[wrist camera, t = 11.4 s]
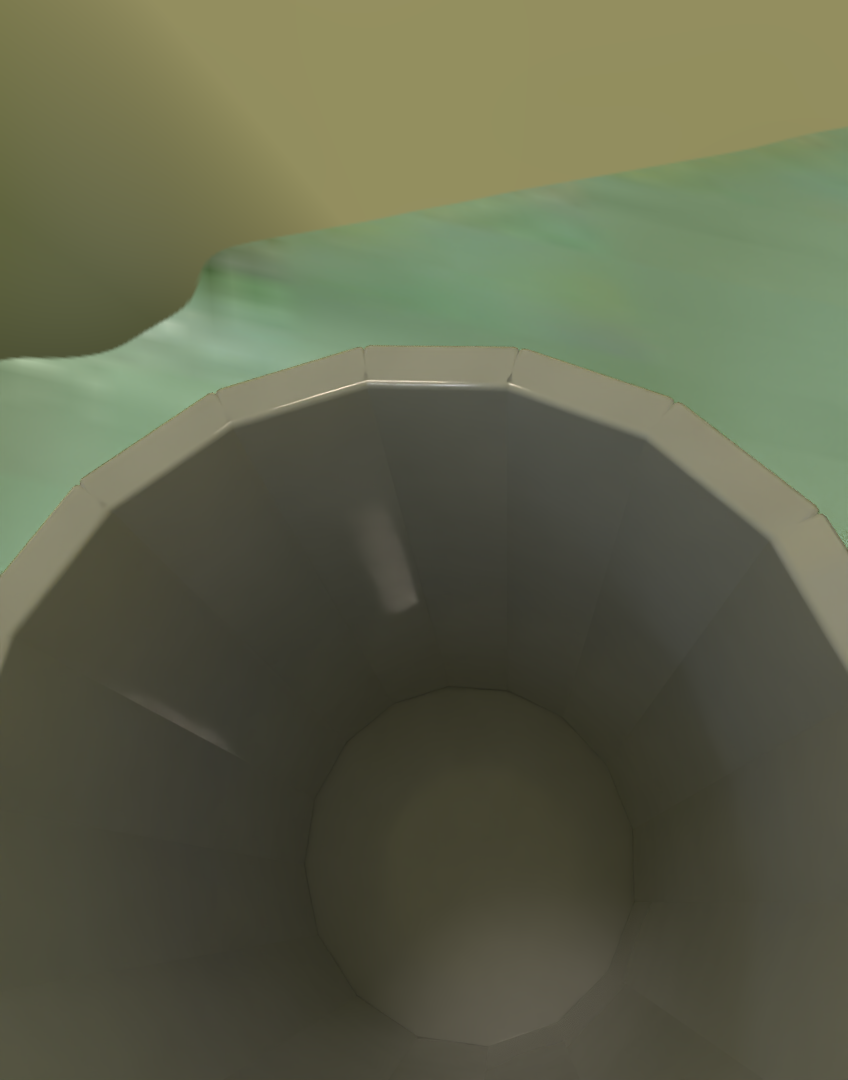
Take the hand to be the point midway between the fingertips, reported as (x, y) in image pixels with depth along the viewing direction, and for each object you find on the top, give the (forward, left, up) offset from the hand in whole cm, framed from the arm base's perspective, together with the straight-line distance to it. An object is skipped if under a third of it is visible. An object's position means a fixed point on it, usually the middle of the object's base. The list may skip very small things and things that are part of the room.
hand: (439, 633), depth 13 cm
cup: (+1, -3, -4) cm, 5 cm away
